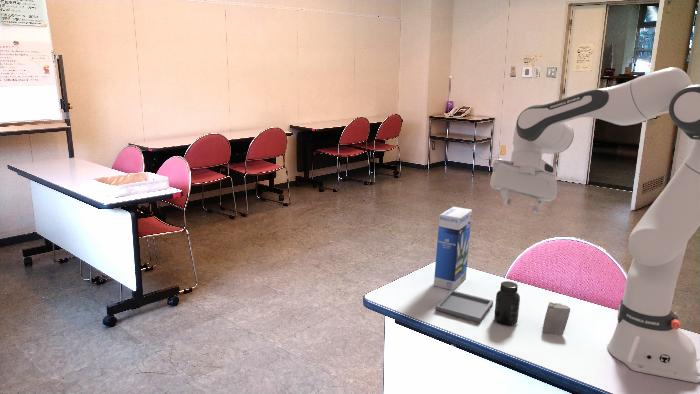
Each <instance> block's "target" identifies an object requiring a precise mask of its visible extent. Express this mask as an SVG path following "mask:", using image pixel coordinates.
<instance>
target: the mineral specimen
mask: <svg viewBox="0 0 700 394" xmlns="http://www.w3.org/2000/svg"><path fill="white" fill-rule="evenodd" d="M570 313H571V308H570V307H569V306H567V305H565V304H562V303H559V302H558V303H556V302H555V303H554V302H549V303H548V306H547V308H546V312H545V316H544V320H543V325H542V333H543V334H548V335H557V336H563V335H564V332H565V330H566V327H567V323H568V321H569V317H570Z"/></svg>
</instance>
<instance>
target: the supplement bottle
mask: <svg viewBox="0 0 700 394" xmlns="http://www.w3.org/2000/svg"><path fill="white" fill-rule="evenodd" d="M518 288H519V287H518V284H517V283H516V282H514V281H509V280H507V281H502V282H501V283H500V287H499V290H498V291H497V293H496V294H495V306H494V315H493V316H494V317H493V318H494V319H493V320H494V321H495V323H497V324H498V325H501V326H505V327H513V326H516V325H517V324H518V320H519V311H520V302H521V295H520V294H519V293H518Z"/></svg>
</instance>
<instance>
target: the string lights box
mask: <svg viewBox="0 0 700 394" xmlns="http://www.w3.org/2000/svg"><path fill="white" fill-rule="evenodd" d="M472 215H473V209H470V208H466V207H465V208H463V207H458V206H451V208H449V209H447V210H445V211H444V212H442V213H440V214H439V216H438V217H439V218H438V229H437V231H438V232H437V241H436V254H435V267H434V277H433V279H434V280H433V286H434V287H437V288H441V289H442V288H443V289H446V290H450V291H451V290H453V291H455V290H456V288H458V287H459V286H460V285H461V284H462V283H463V282H464V281H465V280H466V279H467V269H468V268H467V267H468V261H469V260H468V259H469V250H470V249H469V248H470V247H469V245H470V238H471V226H472Z"/></svg>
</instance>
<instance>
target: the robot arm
mask: <svg viewBox="0 0 700 394" xmlns="http://www.w3.org/2000/svg"><path fill="white" fill-rule="evenodd" d="M665 114H669V117H670V118H671V121H672V122H673V123H674V124H675V125H676V126H677V127H678V128H679V129H680V130H681V131H682V132H683V133H684V134H685V135H686V136H687V137H688V138H689V139H691V140H695V141H694V145H693V147H692V149H691V150H690V152H689V154H688V155H687V157H685V159H684V160H683V162H682V163H681V164H680V166H679V167H678V169H677V170H676V172H674V175H673V176H672V177H671V179H670V180H669V182H668V183H667V184H666V186H665V187H664V189H663V190H662V191H661V192H660V194H659V195H658V197H656V199H655V200H654V201H653V203H652V204H651V205H650V206H649V208H648V209H647V210H646V212H645V213H644V214H643V216H642V217H641V218H640V219H639V221H637V223H636V225H635V226H634V228H633V229H632V230H631V232H630V234H629V237H628V243H627V247H628V251H629V254H630V255H631V257H632V260H631V264H630V267H629V270H628V272H627V276H626V280H625V286H624V290H623V291H624V292H623V297H622V299H621V301H620V304H619V306H618V310H617V323H616V327H615V330H614V332H613V335H612V337H611V339H610V341H609V342H608V343H607V350H608V352H609V353H610V354H611V355H612V356H613V357H614V358H615V359H617V360H619V361H620V362H623V363H624V364H625V365H626V366H627V367H628V368H629V369H630V370H632V371H634V372H638V373H644V374H647V375H648V374H649V375H653V376H659V377H664V378H669V379H675V380H679V381H684V382H690V383H695V384H697V383H700V357H698V355H697V349H696V346H695V344H694V342H693V340H692V339H691V338H690V337H689V336H688V335H686V333H685V332H683V331H682V330H681V321H680V320H679V316H678V314H677V312H676V311H673V310H671V309H672V304H673V300H674V295H675V290H676V285H677V282H678V278H679V275H680V272H681V268H682V265H683V262H684V261H683V260H684V257H685V253H686V250H687V246H688V242H689V240H690V239H691V237H692V236H693V235H694V234H695V232H697V230H698V229H699V228H700V84H693V82H692V80H691V78H690V76H689V75H688V73H686V71H684V70H683V69H681V68H679V67H676V66H675V67H668V68H663V69H660V70H656V71H652V72H649V73H647V74H644V75H641V76H638V77H636V78H634V79H632V80H629V81H627V82H623V83H621V84H616V85H613V86H608V87H603V88H596V89H595V88H594V89H590V90H586V91H583V92H580V93H576V94H574V95H573V94H572V95H570V96H568V97H565V98H562V99H561V98H560V99H559V100H555V101H552V102H549V103H547V104H546V103H544V104H533V105H531V106H528V107H527V108H525V109H524V110H522V111H521V112H520V114H519V115H518V116H517V119H516V125H515V127H514V130H513V131H514V132H513V137H512V138H513V140H512V144H513V145H512V146H513V150H512V151H511V152H512V153H511V155H510V157H511V158H510V161H509V160H505V159H502V158H497V159H496V160H494V161H493V162H492V174H491V176H490V182H489V185H490V187H491V188H492V189H495V190H498V191H500V195H501V198H502V200H503V203H502V205H503V206H507V207H509V206H510V205H511V200H512V199H511V198H509V196H508V193H511V194H515V195H518V196H522V197H527V198H530V199H534V200H535V201H536V205H534V206H533V205H532V207H531V208H532V210H531V212H532V213H535V214H539V213H540V211H541V210H540V209H541V207H542V205H543V204H544V203H545V202H547V203H549V202H552V201H554V200H555V199H556V198H557V196H558V183H557V177H555V175H556V174H557V168H556V167H554V166H553V165H551V164H549V163H548V162H547V161H545V160H544V159H543V154H549V155H550V154H551V155H552V154H560V153H562V152H565V151H566V150H568V148H569V147H570V146H571V145H572V143H573V140H574V137H575V133H574V128H573V127H572V126H571V125H570V124H568V123H567V122H570V121H572V120H575V119H580V118H592V119H599V120H602V121H605V122H608V123H611V124H613V125H618V126H631V125H637V124H640V123H642V122H645V121H648V120H651V119H654V118H656V117H659V116H661V115H665Z"/></svg>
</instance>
